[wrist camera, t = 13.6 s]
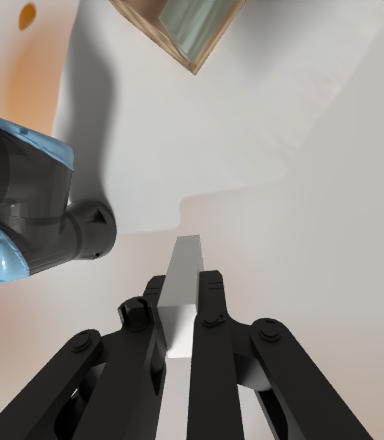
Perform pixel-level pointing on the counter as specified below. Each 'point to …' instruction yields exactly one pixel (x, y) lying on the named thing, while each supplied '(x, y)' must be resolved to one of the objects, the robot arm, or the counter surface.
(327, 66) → the counter surface
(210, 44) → the chest
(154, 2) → the lid
